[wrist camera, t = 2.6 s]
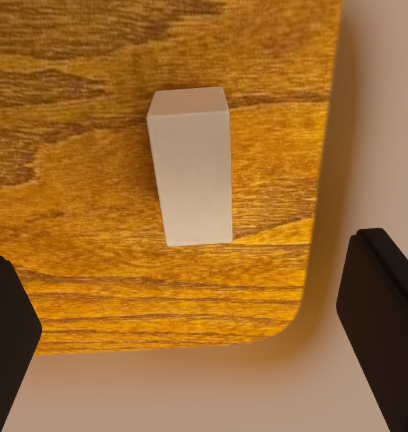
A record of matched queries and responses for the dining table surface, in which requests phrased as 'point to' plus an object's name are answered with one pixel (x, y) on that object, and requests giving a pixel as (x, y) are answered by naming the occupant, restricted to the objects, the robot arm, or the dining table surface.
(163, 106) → the eraser
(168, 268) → the dining table surface
